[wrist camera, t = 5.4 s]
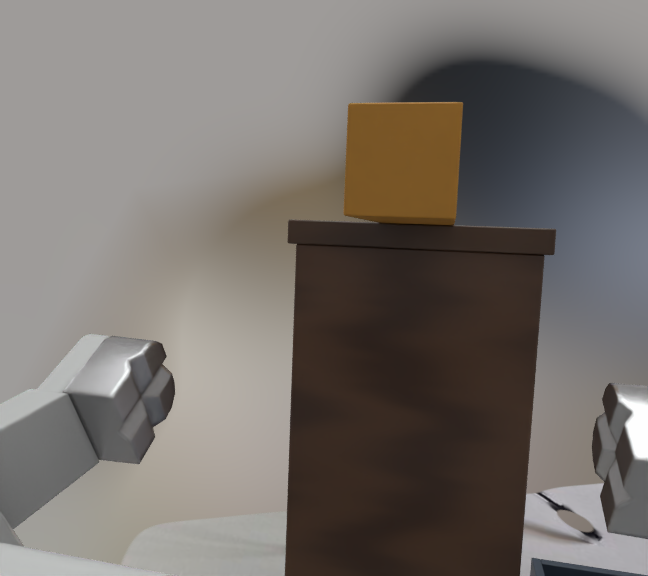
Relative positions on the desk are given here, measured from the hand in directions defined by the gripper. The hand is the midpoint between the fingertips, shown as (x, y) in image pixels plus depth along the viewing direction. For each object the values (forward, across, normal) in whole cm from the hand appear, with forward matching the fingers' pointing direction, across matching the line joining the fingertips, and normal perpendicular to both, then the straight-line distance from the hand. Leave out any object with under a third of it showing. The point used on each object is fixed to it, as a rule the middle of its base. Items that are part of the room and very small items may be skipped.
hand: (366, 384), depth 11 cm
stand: (+3, 0, +28) cm, 29 cm away
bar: (+15, 0, +5) cm, 16 cm away
